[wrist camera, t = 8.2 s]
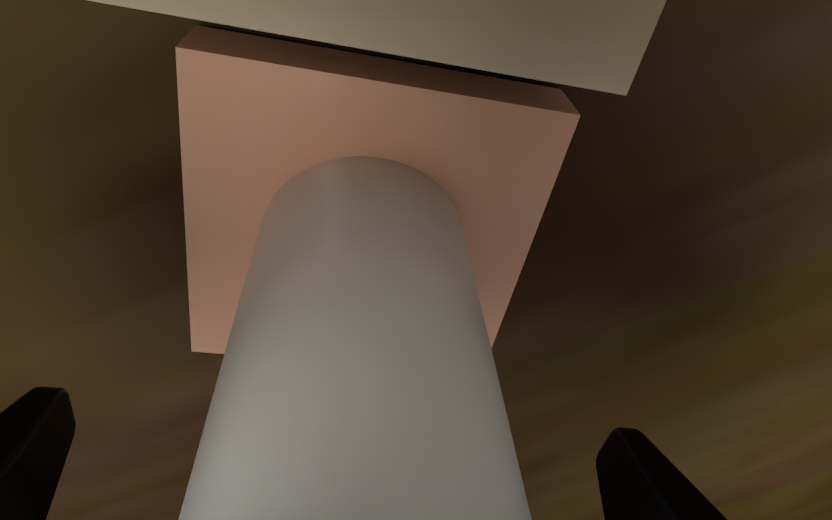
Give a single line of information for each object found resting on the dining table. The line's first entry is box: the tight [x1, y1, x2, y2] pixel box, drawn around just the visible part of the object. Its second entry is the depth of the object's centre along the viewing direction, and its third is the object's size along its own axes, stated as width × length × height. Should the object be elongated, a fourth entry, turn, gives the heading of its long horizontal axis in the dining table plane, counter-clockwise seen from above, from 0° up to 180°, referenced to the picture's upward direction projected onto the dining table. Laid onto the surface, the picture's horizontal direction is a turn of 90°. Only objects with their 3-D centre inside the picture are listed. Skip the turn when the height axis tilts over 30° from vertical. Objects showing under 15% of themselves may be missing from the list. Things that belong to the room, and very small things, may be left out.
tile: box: [175, 25, 580, 354], centre depth 14 cm, size 8×8×2 cm
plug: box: [178, 156, 532, 520], centre depth 9 cm, size 5×5×10 cm
